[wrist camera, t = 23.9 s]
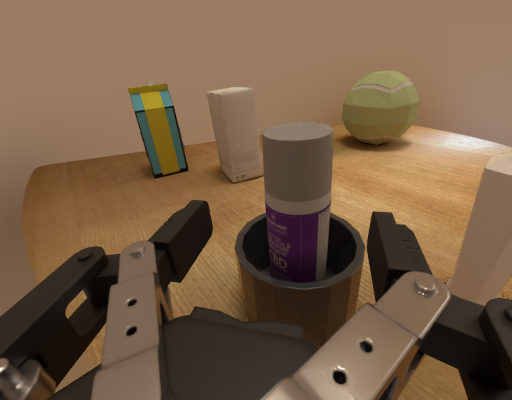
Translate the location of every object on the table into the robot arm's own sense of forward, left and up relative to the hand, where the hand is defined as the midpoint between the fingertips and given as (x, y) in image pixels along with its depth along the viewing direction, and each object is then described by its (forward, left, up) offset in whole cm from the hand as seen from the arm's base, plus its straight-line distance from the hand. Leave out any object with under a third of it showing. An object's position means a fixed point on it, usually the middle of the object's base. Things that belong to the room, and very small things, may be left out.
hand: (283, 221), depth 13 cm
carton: (+48, +1, -13) cm, 49 cm away
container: (+5, -4, -12) cm, 14 cm away
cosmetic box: (+36, -11, -13) cm, 39 cm away
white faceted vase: (-2, -17, -13) cm, 22 cm away
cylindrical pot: (+5, -4, -13) cm, 14 cm away
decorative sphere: (+34, -45, -13) cm, 58 cm away
